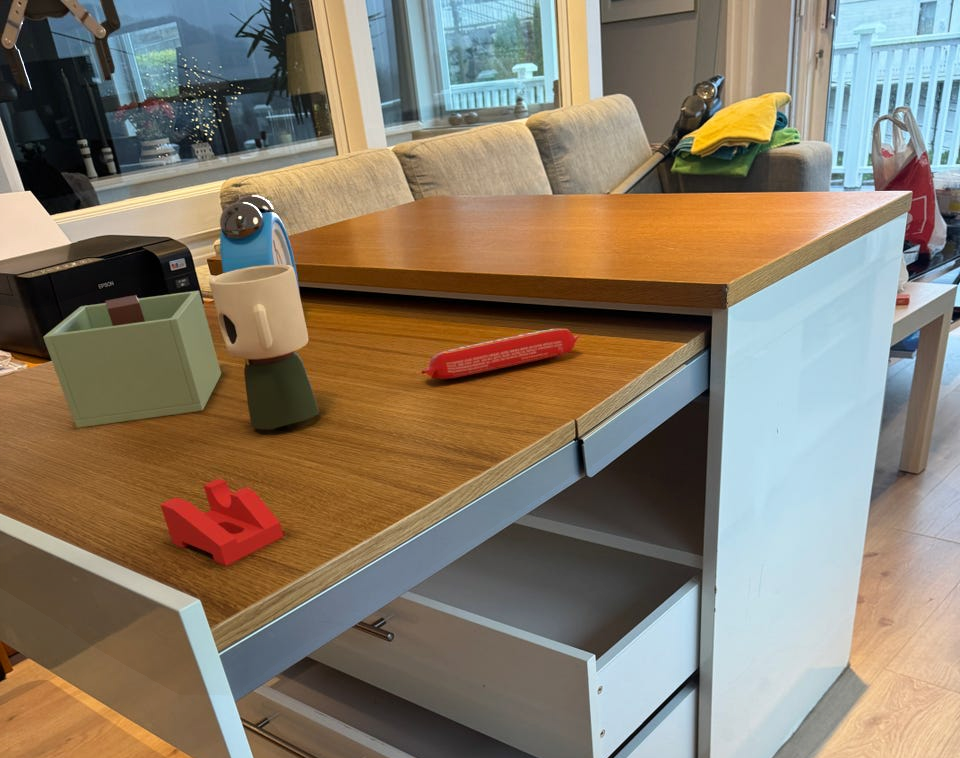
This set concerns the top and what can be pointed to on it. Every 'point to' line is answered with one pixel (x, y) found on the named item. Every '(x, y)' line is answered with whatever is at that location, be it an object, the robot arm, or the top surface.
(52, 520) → the top surface
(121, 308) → the chocolate carton
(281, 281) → the character mug
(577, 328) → the top surface
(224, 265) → the alarm clock
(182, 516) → the bracket
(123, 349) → the trash bin
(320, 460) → the top surface
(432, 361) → the packaged sausage
